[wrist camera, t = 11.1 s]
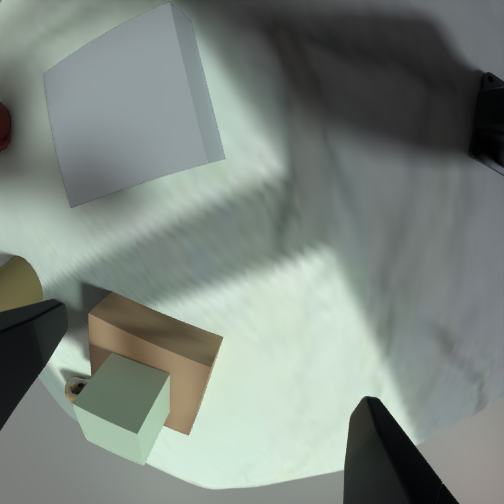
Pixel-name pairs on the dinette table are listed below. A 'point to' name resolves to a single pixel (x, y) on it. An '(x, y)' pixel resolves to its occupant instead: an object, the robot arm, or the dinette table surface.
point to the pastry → (75, 387)
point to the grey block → (131, 107)
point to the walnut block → (156, 351)
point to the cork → (18, 284)
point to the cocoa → (4, 128)
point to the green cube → (124, 407)
